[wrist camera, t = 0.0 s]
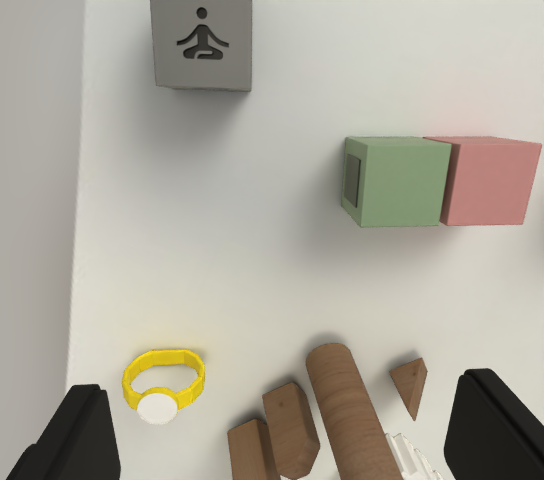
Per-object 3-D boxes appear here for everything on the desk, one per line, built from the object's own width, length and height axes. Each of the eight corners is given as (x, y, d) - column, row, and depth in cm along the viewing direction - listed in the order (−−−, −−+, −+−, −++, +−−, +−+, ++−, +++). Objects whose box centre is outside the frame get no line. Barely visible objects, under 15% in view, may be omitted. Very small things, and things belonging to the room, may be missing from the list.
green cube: (344, 136, 26) (365, 144, 21) (415, 136, 26) (452, 144, 22) (339, 206, 28) (358, 227, 23) (406, 205, 28) (438, 226, 23)
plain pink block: (421, 136, 26) (458, 144, 22) (491, 136, 27) (543, 143, 22) (412, 205, 28) (445, 226, 23) (477, 204, 28) (523, 224, 24)
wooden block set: (248, 426, 37) (269, 557, 30) (200, 398, 32) (211, 552, 24) (417, 353, 35) (487, 477, 27) (398, 308, 29) (480, 450, 21)
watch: (136, 369, 32) (112, 426, 26) (133, 341, 31) (107, 394, 25) (207, 368, 32) (199, 424, 26) (207, 341, 31) (198, 393, 25)
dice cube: (173, 88, 24) (155, 85, 20) (168, -1, 23) (147, -28, 18) (250, 91, 25) (251, 88, 20) (251, 3, 23) (252, -22, 18)
